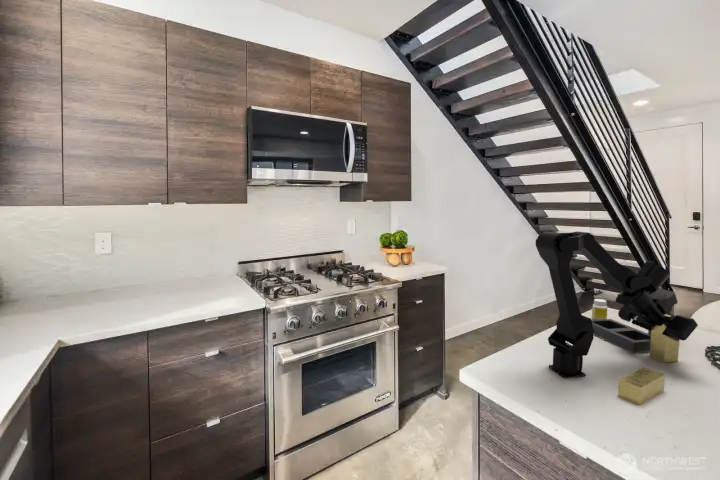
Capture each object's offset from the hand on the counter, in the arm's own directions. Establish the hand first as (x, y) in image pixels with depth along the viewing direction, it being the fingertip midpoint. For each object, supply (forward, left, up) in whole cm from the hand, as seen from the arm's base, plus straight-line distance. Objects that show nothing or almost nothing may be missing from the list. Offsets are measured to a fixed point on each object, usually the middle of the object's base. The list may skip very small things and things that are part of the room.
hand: (669, 336), depth 105 cm
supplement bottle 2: (+12, +13, -7) cm, 18 cm away
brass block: (-1, 0, -7) cm, 7 cm away
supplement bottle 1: (+6, +32, -7) cm, 33 cm away
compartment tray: (-1, +15, -7) cm, 16 cm away
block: (-25, -15, -7) cm, 30 cm away
